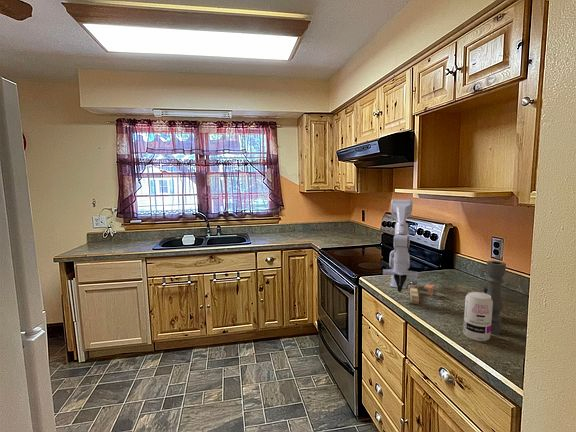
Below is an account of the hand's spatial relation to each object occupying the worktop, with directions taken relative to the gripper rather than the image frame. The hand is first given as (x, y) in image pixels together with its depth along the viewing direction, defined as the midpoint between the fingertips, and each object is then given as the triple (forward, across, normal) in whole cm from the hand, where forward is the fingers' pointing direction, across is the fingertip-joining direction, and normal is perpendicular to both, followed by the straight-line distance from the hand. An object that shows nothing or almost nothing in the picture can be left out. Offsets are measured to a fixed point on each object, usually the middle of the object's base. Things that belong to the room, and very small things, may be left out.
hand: (399, 291), depth 145 cm
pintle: (+4, +7, +12) cm, 14 cm away
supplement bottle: (+5, +33, -8) cm, 35 cm away
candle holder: (+5, +31, -20) cm, 37 cm away
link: (+4, +7, +6) cm, 10 cm away
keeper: (+5, +14, +10) cm, 18 cm away
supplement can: (+5, +24, -26) cm, 36 cm away
